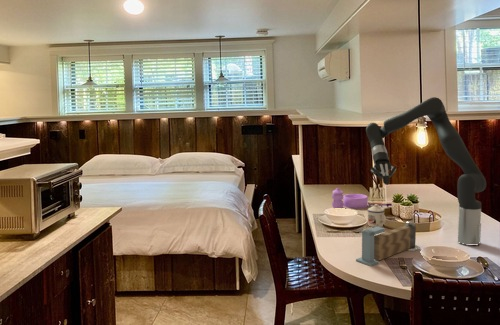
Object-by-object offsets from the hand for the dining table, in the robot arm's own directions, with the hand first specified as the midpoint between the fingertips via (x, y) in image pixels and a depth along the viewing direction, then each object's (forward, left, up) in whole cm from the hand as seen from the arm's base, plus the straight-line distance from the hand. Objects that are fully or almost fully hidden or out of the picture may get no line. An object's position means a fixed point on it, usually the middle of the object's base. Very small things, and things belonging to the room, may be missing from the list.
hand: (386, 183), depth 215 cm
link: (-10, +19, -27) cm, 35 cm away
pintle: (-13, +8, -28) cm, 32 cm away
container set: (+41, -57, -28) cm, 75 cm away
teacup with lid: (+11, -20, -28) cm, 36 cm away
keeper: (-4, +33, -28) cm, 43 cm away
